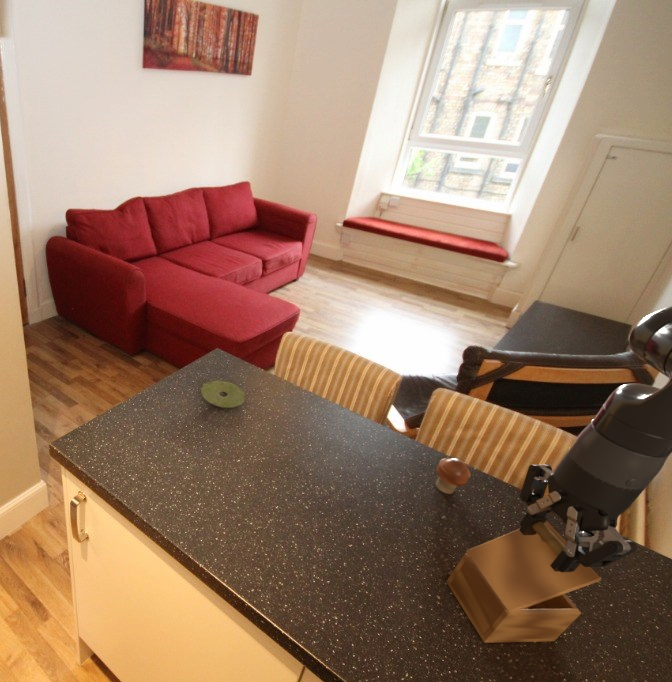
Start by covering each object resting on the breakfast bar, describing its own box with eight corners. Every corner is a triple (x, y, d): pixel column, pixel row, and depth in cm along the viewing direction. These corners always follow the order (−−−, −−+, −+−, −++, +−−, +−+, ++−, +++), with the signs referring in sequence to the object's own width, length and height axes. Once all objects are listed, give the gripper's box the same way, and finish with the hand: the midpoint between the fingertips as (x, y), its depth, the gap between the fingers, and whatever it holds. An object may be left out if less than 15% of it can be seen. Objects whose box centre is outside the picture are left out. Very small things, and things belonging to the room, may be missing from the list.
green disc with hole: (206, 382, 120) (207, 376, 119) (247, 392, 117) (248, 386, 116) (195, 406, 111) (196, 399, 110) (240, 418, 108) (241, 411, 107)
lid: (545, 520, 68) (538, 503, 65) (601, 580, 60) (596, 563, 57) (466, 552, 71) (457, 537, 69) (509, 613, 63) (501, 598, 60)
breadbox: (508, 581, 76) (531, 553, 72) (554, 641, 68) (582, 613, 64) (445, 581, 75) (464, 553, 71) (483, 642, 67) (508, 614, 63)
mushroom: (456, 482, 95) (470, 456, 91) (462, 501, 90) (478, 475, 86) (427, 474, 96) (440, 448, 92) (432, 493, 92) (446, 467, 88)
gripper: (700, 512, 49) (613, 600, 58) (585, 425, 61) (527, 508, 70) (637, 512, 48) (559, 601, 57) (534, 424, 61) (482, 508, 69)
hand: (542, 549), depth 63 cm, fingers closed on lid, 5 cm apart
